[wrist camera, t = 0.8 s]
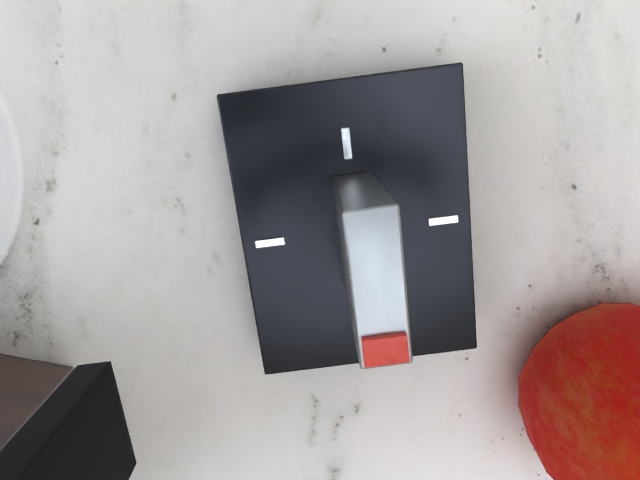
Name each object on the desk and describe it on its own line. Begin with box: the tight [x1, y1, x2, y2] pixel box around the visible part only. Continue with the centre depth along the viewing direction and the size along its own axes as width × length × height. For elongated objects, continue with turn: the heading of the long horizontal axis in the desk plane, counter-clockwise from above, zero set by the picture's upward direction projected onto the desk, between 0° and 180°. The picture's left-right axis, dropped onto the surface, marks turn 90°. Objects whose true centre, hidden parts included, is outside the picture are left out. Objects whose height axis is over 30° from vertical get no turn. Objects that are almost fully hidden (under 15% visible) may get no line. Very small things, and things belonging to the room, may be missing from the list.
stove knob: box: [331, 172, 413, 369], centre depth 20 cm, size 6×2×8 cm, turn 7°
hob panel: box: [217, 63, 477, 374], centre depth 25 cm, size 14×11×3 cm
